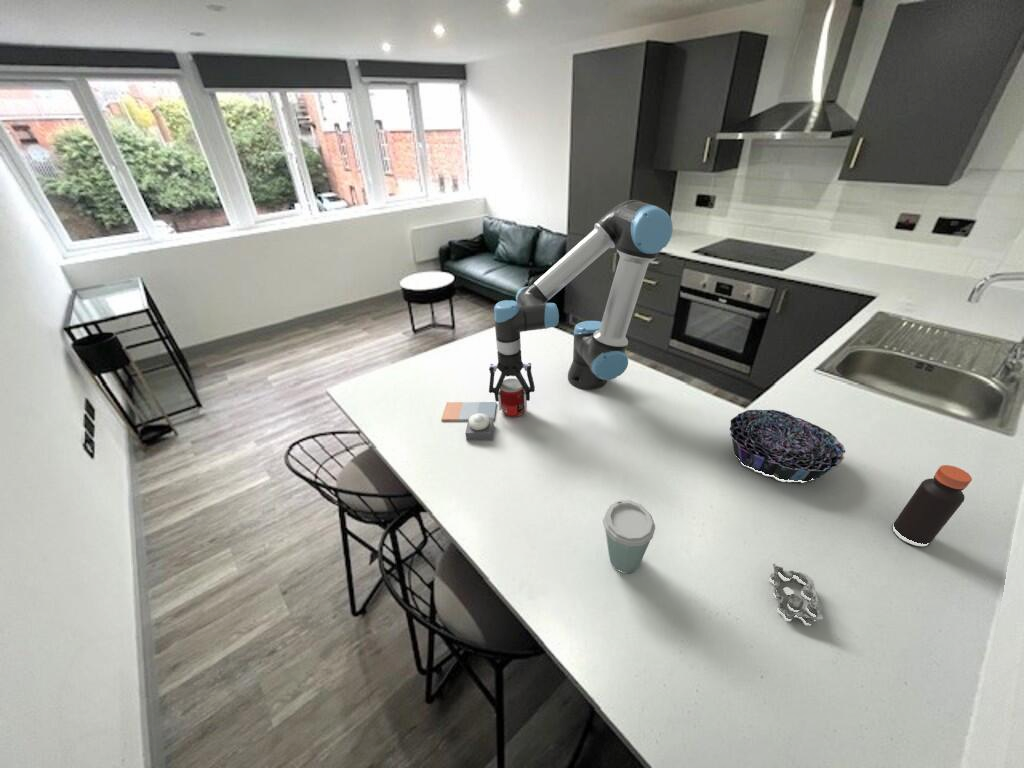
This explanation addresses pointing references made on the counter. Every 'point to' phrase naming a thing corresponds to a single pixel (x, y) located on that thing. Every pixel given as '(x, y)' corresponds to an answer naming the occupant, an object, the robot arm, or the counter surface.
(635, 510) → the disposable coffee cup
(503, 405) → the canned food
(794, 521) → the counter surface
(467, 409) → the flat rectangular panel
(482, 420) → the dome button
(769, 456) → the decorative bowl
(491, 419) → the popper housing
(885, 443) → the counter surface
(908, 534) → the bottle
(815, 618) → the grey lumpy piece
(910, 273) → the counter surface
